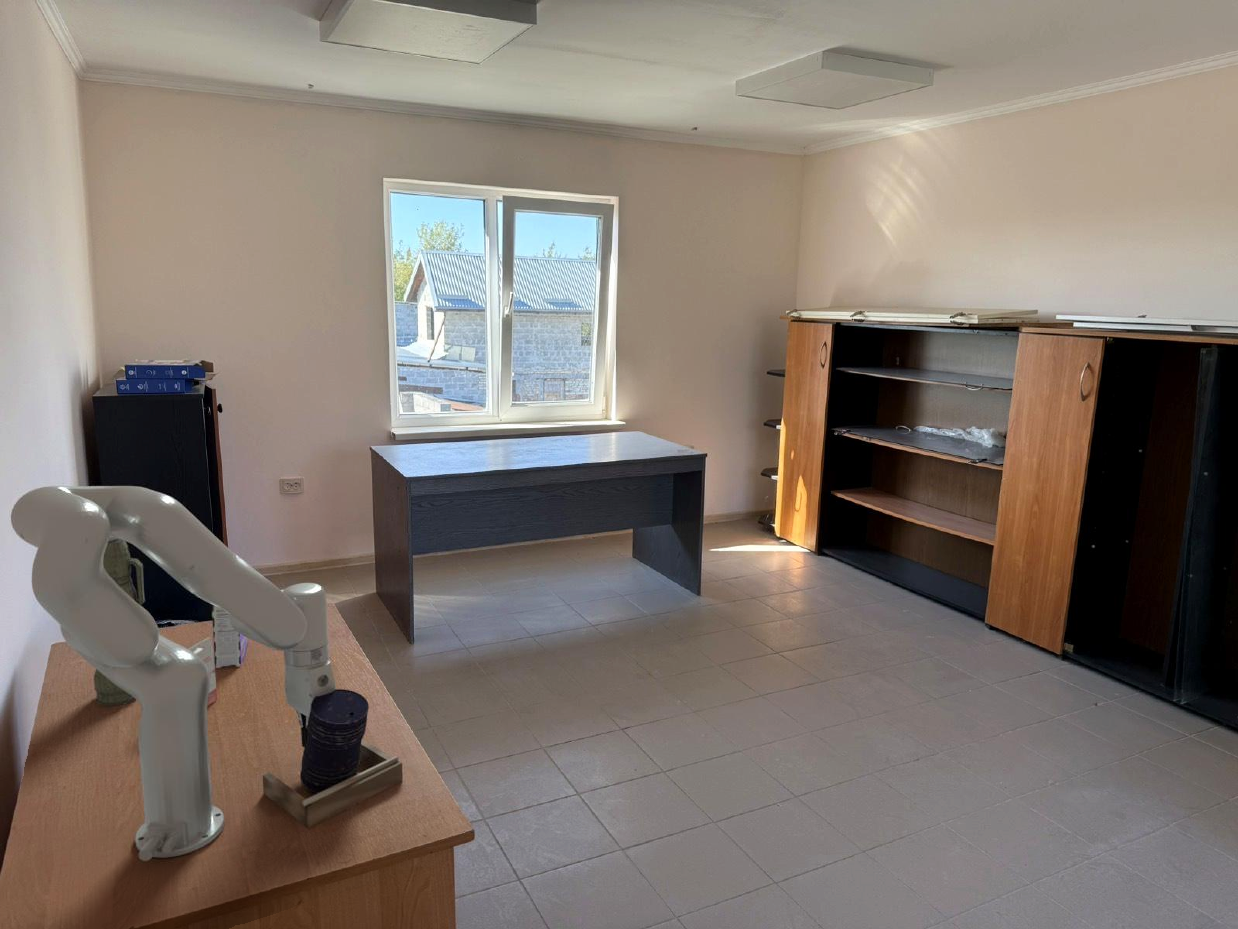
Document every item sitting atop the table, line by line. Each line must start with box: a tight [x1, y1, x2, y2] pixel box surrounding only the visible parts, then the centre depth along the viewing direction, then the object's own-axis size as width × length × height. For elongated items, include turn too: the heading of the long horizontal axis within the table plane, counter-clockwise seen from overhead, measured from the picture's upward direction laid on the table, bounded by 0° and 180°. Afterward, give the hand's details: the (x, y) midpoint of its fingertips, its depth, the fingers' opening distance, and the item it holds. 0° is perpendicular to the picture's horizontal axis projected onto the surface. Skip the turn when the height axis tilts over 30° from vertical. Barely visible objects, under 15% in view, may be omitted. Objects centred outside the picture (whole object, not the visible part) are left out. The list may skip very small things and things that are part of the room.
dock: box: [262, 738, 403, 829], centre depth 145 cm, size 15×18×4 cm
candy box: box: [211, 604, 249, 669], centre depth 195 cm, size 14×6×16 cm, turn 17°
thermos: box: [93, 539, 146, 707], centre depth 172 cm, size 9×12×35 cm
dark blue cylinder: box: [299, 688, 370, 794], centre depth 145 cm, size 10×10×15 cm
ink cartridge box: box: [187, 636, 218, 708], centre depth 170 cm, size 9×5×15 cm, turn 168°
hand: (312, 745), depth 150 cm, fingers closed
